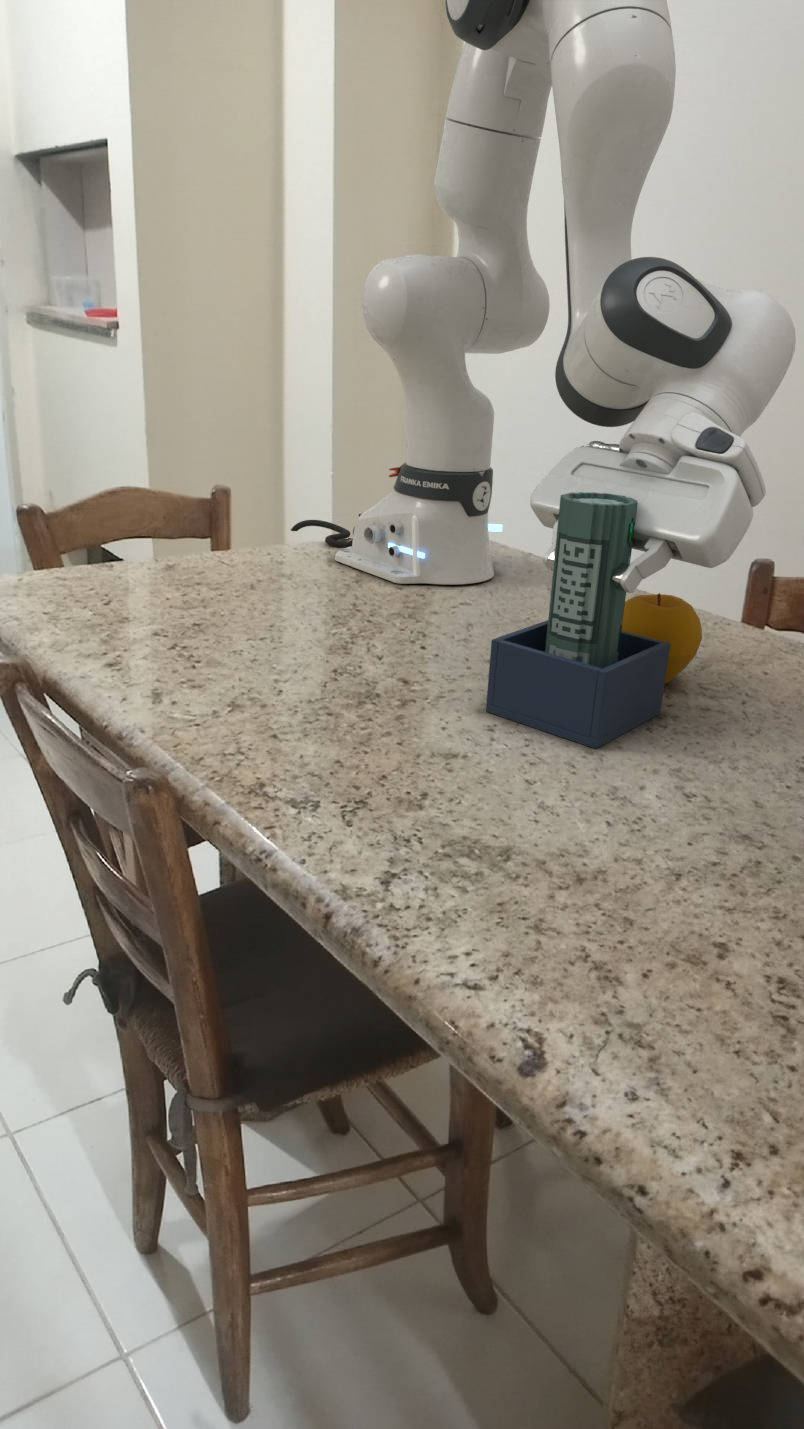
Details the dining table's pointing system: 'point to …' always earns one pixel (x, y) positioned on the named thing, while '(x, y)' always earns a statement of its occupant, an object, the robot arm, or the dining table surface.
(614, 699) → the dark blue bin
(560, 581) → the can
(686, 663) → the apple
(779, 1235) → the dining table surface
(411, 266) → the robot arm
